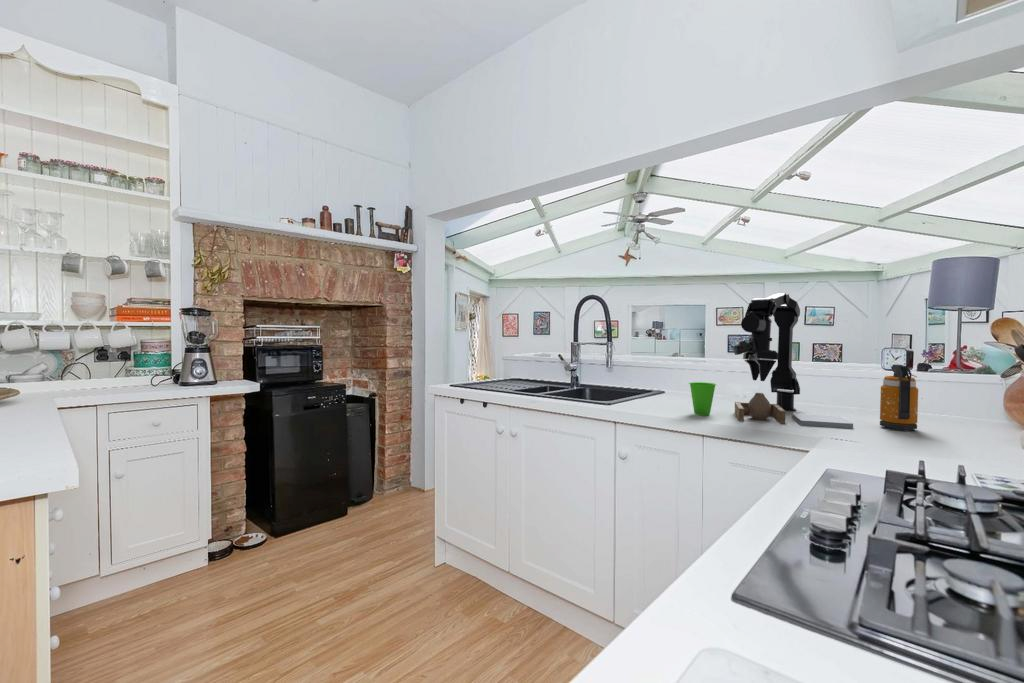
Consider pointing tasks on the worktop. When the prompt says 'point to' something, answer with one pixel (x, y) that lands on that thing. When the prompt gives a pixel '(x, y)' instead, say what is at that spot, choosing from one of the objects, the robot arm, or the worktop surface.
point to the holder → (776, 412)
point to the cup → (702, 397)
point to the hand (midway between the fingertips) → (758, 380)
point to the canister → (899, 400)
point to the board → (821, 420)
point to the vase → (759, 407)
